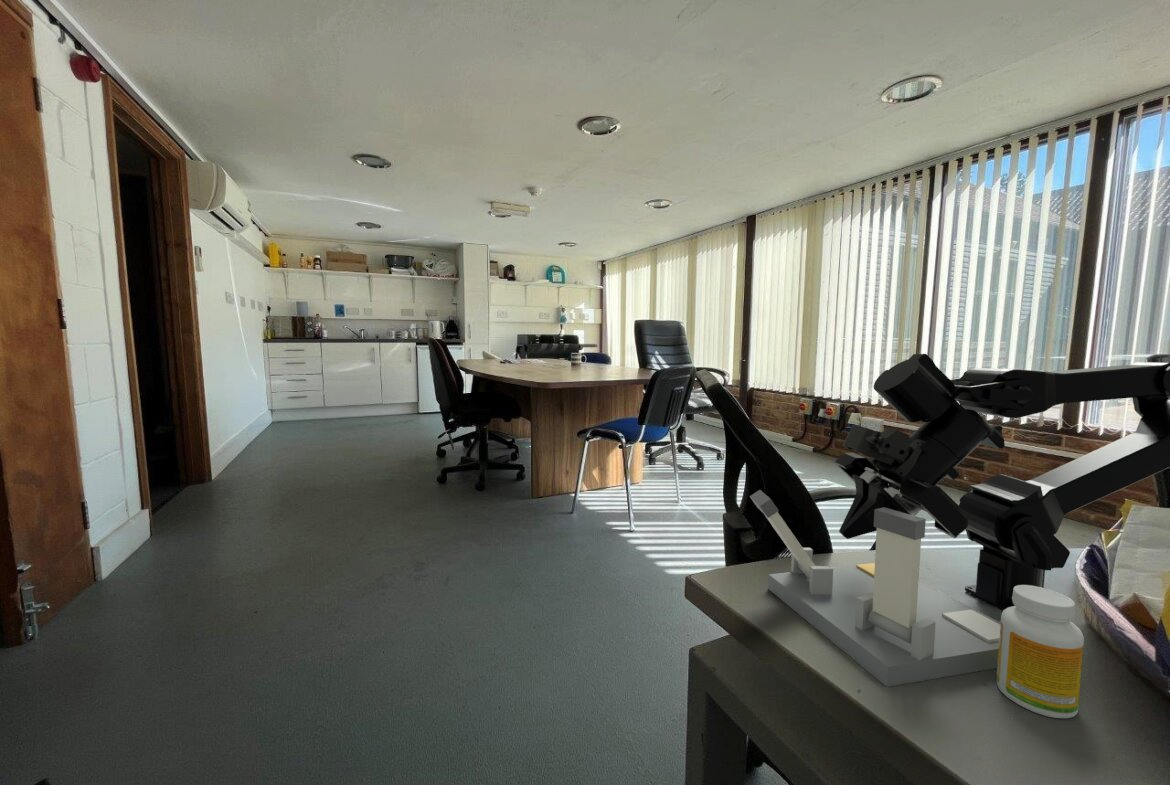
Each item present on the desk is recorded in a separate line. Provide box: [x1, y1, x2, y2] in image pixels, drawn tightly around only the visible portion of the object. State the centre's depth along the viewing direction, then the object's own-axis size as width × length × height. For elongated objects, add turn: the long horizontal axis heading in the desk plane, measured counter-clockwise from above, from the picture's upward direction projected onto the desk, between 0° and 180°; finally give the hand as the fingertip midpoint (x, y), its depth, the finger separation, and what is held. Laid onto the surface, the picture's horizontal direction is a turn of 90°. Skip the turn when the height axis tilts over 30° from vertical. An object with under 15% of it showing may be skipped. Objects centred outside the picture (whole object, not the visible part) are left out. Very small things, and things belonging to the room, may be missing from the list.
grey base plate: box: [768, 547, 1001, 688], centre depth 56 cm, size 18×19×5 cm
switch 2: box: [868, 507, 927, 644], centre depth 48 cm, size 2×4×12 cm, turn 27°
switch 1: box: [749, 489, 817, 579], centre depth 60 cm, size 2×4×12 cm
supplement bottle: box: [996, 585, 1085, 719], centre depth 43 cm, size 5×5×10 cm
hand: (842, 535), depth 60 cm, fingers closed
